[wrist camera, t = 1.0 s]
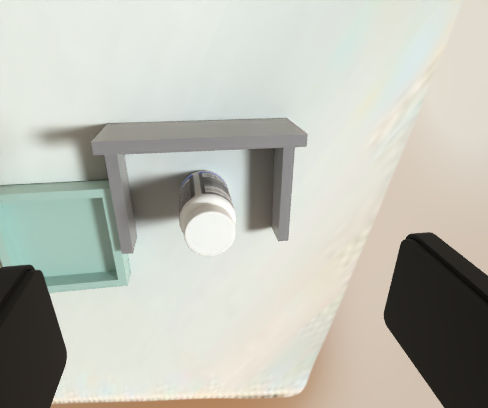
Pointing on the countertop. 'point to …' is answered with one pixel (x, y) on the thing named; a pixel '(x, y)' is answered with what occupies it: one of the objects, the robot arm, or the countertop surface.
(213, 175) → the pill bottle
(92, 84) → the countertop surface
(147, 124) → the bay
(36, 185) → the tray
